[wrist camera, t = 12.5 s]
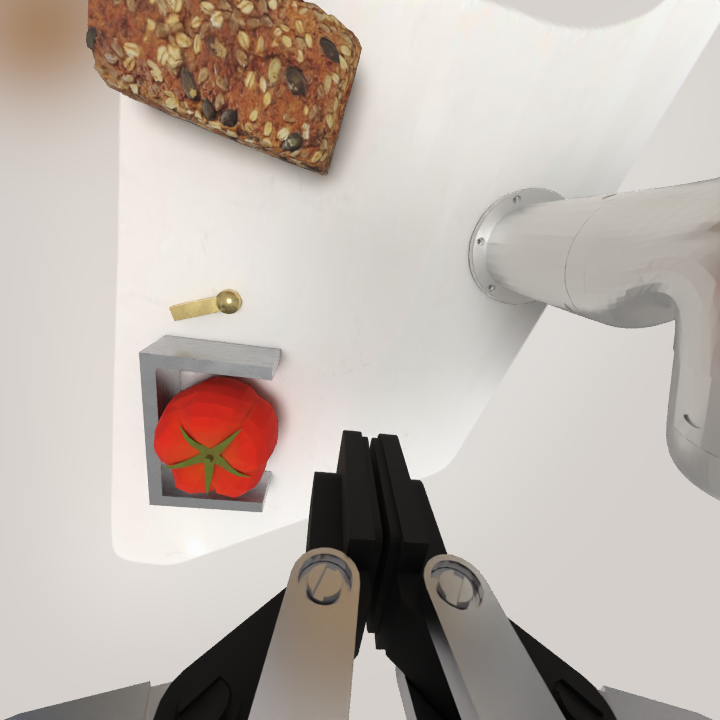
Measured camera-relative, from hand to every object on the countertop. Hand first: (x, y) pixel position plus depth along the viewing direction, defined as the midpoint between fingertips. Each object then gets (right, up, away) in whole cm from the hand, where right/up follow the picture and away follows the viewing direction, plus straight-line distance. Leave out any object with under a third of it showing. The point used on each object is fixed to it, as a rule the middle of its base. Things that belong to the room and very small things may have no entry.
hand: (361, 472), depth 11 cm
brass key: (-19, +10, +29) cm, 36 cm away
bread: (-11, +30, +23) cm, 39 cm away
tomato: (-17, -4, +35) cm, 39 cm away
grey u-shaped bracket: (-17, -4, +35) cm, 39 cm away
